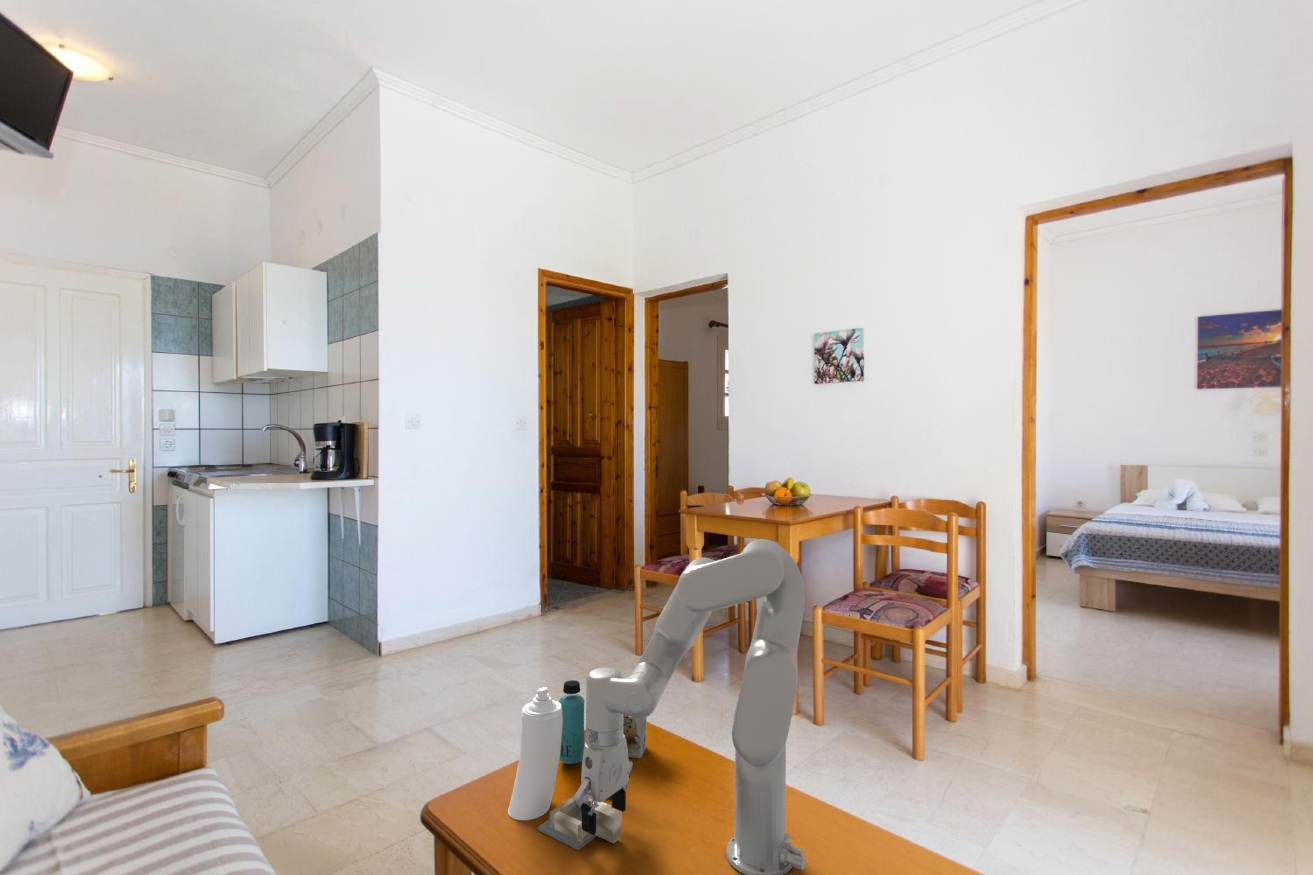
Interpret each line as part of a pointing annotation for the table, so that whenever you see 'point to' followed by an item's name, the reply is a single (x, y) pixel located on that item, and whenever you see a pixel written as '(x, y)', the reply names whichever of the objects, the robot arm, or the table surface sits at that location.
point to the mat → (563, 837)
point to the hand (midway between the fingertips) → (604, 819)
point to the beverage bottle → (572, 724)
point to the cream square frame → (566, 824)
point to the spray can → (537, 757)
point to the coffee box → (635, 735)
